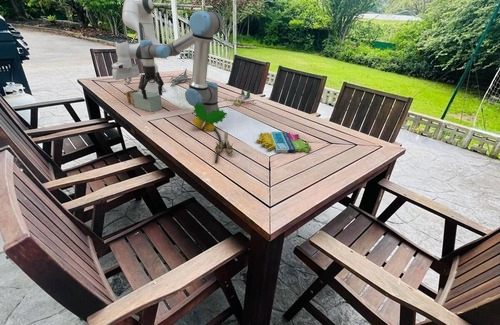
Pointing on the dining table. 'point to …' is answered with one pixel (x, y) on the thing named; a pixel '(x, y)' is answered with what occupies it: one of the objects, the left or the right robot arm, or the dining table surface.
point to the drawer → (130, 96)
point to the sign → (283, 142)
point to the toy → (241, 99)
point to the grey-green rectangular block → (147, 101)
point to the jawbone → (224, 145)
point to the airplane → (180, 78)
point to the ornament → (207, 117)
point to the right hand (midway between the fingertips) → (153, 97)
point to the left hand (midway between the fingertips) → (128, 84)
